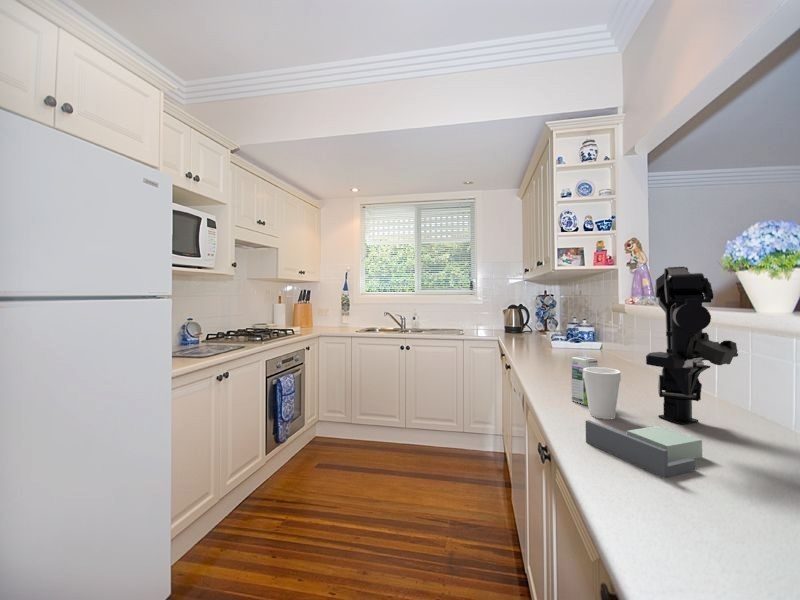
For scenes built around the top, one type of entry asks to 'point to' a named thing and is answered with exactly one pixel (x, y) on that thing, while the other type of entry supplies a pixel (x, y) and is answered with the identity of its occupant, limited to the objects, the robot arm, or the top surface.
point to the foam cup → (602, 391)
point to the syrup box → (580, 377)
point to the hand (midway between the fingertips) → (687, 395)
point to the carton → (670, 442)
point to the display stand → (636, 451)
